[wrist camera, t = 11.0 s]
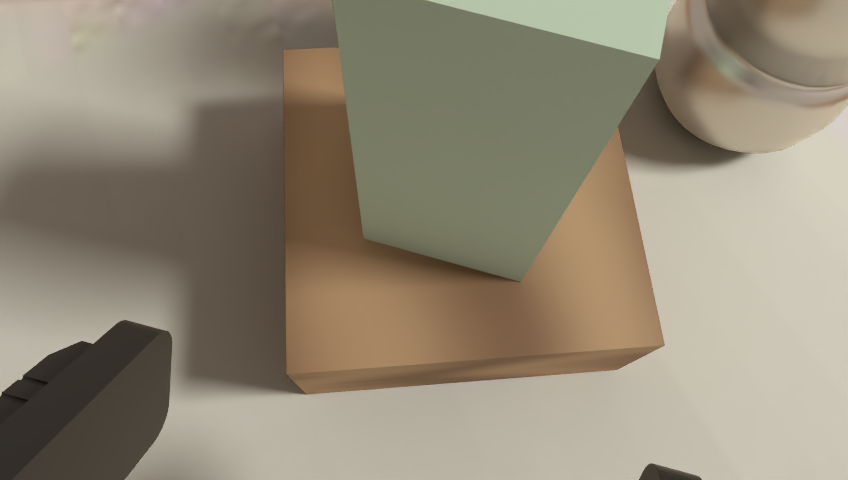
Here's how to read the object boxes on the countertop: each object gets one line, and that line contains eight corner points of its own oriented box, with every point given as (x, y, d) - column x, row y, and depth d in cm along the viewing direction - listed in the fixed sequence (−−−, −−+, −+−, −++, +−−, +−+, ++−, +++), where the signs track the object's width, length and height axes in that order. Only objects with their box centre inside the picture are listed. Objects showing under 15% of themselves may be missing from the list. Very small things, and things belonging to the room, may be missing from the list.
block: (520, 281, 18) (659, 59, 8) (363, 238, 18) (329, -24, 9) (553, 143, 19) (701, -175, 10) (408, 104, 20) (420, -241, 10)
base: (306, 394, 20) (286, 374, 17) (300, 117, 24) (282, 49, 20) (616, 369, 21) (664, 345, 17) (567, 103, 25) (598, 35, 21)
